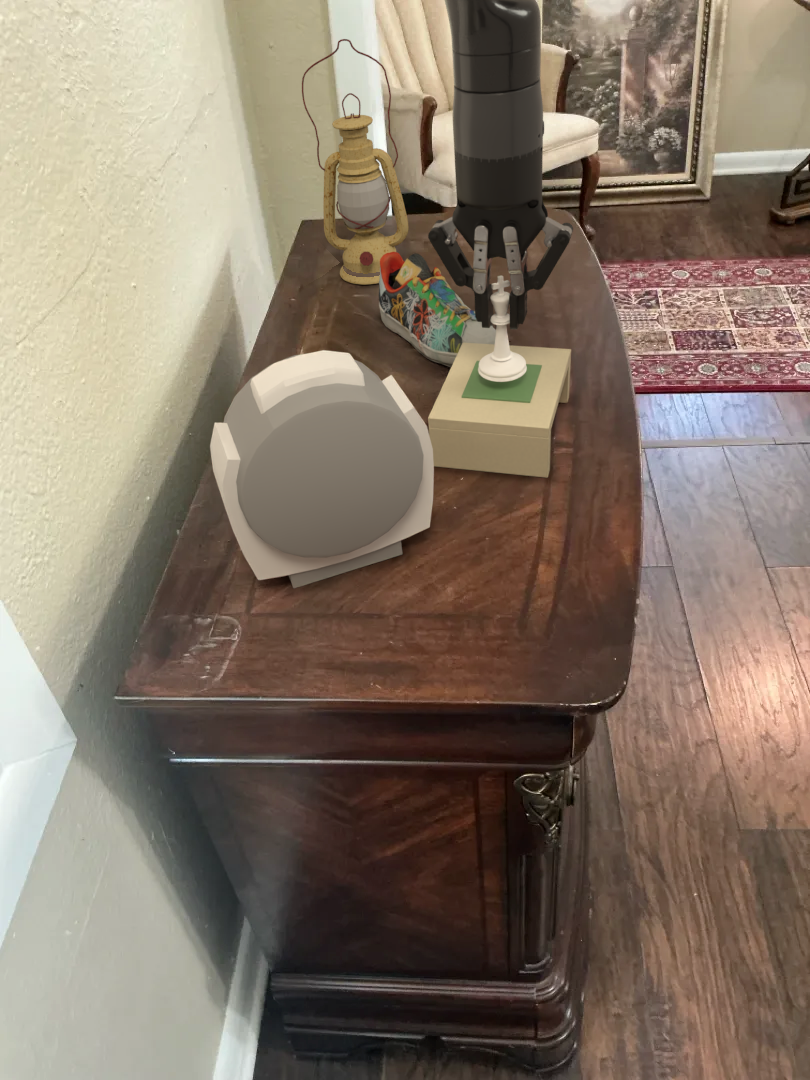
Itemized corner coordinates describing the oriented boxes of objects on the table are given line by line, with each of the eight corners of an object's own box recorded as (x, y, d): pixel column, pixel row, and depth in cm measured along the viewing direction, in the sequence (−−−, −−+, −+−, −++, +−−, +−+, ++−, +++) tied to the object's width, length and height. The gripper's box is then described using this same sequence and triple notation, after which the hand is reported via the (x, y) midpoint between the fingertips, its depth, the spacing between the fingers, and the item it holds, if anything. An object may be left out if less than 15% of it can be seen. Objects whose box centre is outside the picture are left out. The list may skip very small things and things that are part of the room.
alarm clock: (414, 500, 85) (394, 314, 72) (446, 553, 79) (431, 360, 66) (238, 554, 82) (181, 368, 69) (257, 613, 76) (199, 422, 62)
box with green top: (569, 396, 97) (571, 347, 93) (547, 478, 86) (548, 426, 82) (464, 388, 100) (462, 340, 96) (432, 466, 89) (427, 416, 85)
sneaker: (471, 385, 100) (466, 308, 94) (364, 326, 114) (354, 254, 107) (519, 361, 103) (518, 284, 97) (409, 306, 117) (402, 235, 110)
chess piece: (534, 375, 87) (535, 281, 80) (488, 386, 86) (485, 292, 79) (515, 352, 90) (514, 261, 84) (471, 363, 89) (466, 272, 83)
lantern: (327, 290, 122) (288, 54, 102) (333, 260, 130) (298, 34, 110) (411, 284, 121) (389, 44, 101) (412, 254, 129) (392, 25, 109)
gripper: (407, 155, 72) (423, 340, 84) (574, 154, 69) (567, 348, 80) (430, 126, 78) (442, 304, 89) (586, 124, 74) (578, 310, 86)
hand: (501, 324), depth 85 cm, fingers closed on chess piece
